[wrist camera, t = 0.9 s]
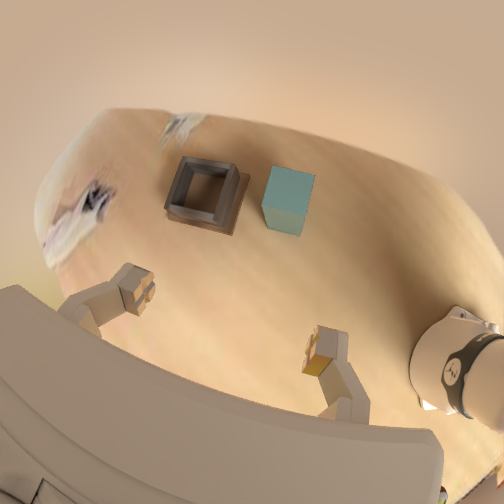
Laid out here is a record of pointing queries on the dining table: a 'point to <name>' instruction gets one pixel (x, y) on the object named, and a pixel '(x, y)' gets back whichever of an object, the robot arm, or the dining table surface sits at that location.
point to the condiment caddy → (206, 194)
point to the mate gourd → (442, 496)
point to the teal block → (287, 199)
